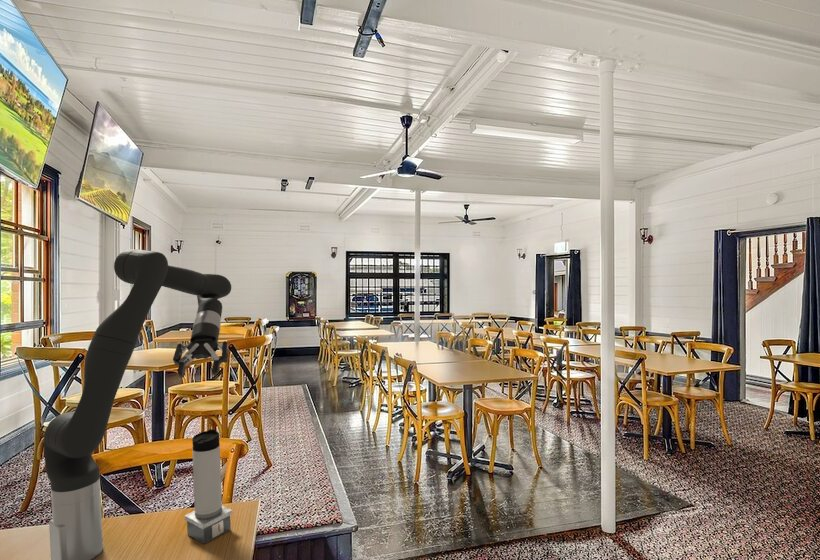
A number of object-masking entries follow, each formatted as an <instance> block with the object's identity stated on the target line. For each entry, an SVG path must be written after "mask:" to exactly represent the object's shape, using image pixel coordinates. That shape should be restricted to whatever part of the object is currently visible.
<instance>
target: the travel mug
mask: <svg viewBox="0 0 820 560" xmlns="http://www.w3.org/2000/svg"><path fill="white" fill-rule="evenodd" d="M220 446H221V444H220V432H218V431H217V429H216V428H215V429H213V428H212V429H211V428H209V429H208V430H205V431H201V432H199V433H197V434H196V435H194V436H193V438H192V468H193V469H192V470H193V471H192V472H193V473H192V474H193V498H194V500H193V501H194V503H193V504H194V511H195V516H196V517H197V518H200V519H207V518H211V517H214V516H216V515H218V514H219V513H220V512H221V510H222V506H223V502H222V501H223V500H222V498H223V497H222V474H221V473H222V472H221V448H220Z"/></svg>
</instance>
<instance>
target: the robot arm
mask: <svg viewBox="0 0 820 560" xmlns="http://www.w3.org/2000/svg"><path fill="white" fill-rule="evenodd" d="M113 263H114V264H113V270H114V273H115V275H116V277H118V279H120V281H122V282H124V283H126V284H129V285H132V287H131V289H130V292H129V294H128V295H127V296H126V298H125V299H124V301H123V302H122V303H121V304H120V305H119V306H118V307H117V308H116V309H115V310H114V311H112V313H110V314H109V315H108V316H107V317H106V318H104V320H103V321H102V322H101V323H100V324H99V325H98V326H97V328H96V329H95V331H94V334H93V336H92V338H91V340H90V344H89V345H88V348H87V351H86V354H85V357H84V369H83V370H84V374H83V375H84V376H83V377H84V381H83V389H82V393H81V396H80V398H79V402H78V403H77V405H76V408H75V410H74V411H68V412H64V413H61V414H59V415H57V416H55V417H54V418H53V419H52V420H51V421H50V422H49V423H48V424H47V426H46V428H45V430H44V433H43V453H44V454H43V456H44V463H45V465H44V466H45V471H46V475H47V478H48V480H49V482H50V497H51V517H52V518H51V519H50V520H49V521H48V525H49V526H48V527H49V528H48V529H49V547H50V548H49V549H50V560H93V559H94V558H95V557H97V556H99V555H100V554H101V553H102V551H103V549H104V543H103V542H104V539H103V519H102V497H101V496H102V495H101V475H100V467H99V465H98V463H97V461H96V460H95V459H94V458H93V457H94V456H93V455H92V453H93V452H95V450H97V449H98V447H99V446H100V445H101V443H102V441H103V439H104V436H105V434H106V431H107V428H108V423H109V419H110V415H111V413H112V412H111V411H112V408H113V405H114V401H115V399H116V396H117V393H118V390H119V388H120V385H121V382H122V380H123V378H124V377H123V376H124V374H125V372H126V369H127V367H128V364H129V362H130V360H131V358H132V355H133V353H134V350H135V348H136V345H137V342H138V340H139V336H140V333H141V331H142V328H143V325H144V323H145V322H146V319H147V316H148V314H149V312H150V310H151V307H152V305H153V304H154V301H155V300H156V298H157V297H158V294H159V293H160V291H161V288H162V287H165V288H168V289H171V290H174V291H179V292H181V293H186V294H189V295H192V296H196V300H197V312H196V316H195V319H194V321H193V326H192V331H191V335H190V341H189V343H188V344H186V345H184V344H182V343H178V344H177V345H176V347H175V350H174V354H173V358H172V361H173V363H174V365H175V366H178V368H177V374H178V376H179V377H180V378H185V373H186V369H187V367H186V366H187V365H188V364H189V363H192V362H193V361H194V360H195V359H196V360H200V359H203V360H204V359H205V360H206V359H207V360H208V359H209V358H210V359H211V360H212V361H213V363H212V370H211V374H212V376H213V377H216V376H217V374H219V372H220V368H221V367H220V366H221V364H222V363H225V364H226V363H227V362H228V361H229V360H228V358H229V345H228V342H227V341H226V340H225V341H223V342H222V343H219V337H220V331H221V324H222V322H221V320H222V313H223V304H222V302H221V301H220V300H219V299H222V298H225V297H226V296H228V295H230V294H231V291H232V284H231V281H230V280H229V279H228V278H227V277H226V276H224V275H222V274H217V273H216V274H215V273H214V274H213V273H202V272H198V271H195V270H192V269H188V268H183V267H180V266H174V265H169V262H168V259H167V257H166V255H165V254H164V253H161V252H159V251H154V250H145V249H136V248H134V249H133V248H132V249H127V250H123V251H122V252H120V253H119V254H118V255H117V257H115V260H114V262H113ZM219 349H220V351H221V356H218V355H217V353H216V351H218V350H219ZM186 351H187V352H186ZM183 354H184V355H183Z"/></svg>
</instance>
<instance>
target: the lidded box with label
mask: <svg viewBox="0 0 820 560" xmlns="http://www.w3.org/2000/svg"><path fill="white" fill-rule="evenodd" d="M231 515H233V509H231V508H228V507H227V506H225V505H222V510H221V512H220V513H219V514H218V515H216V516H214V517H211V518H207V519H200V518H197V517H196V516H195V510H193V511H191V512H188V513H187V514H185V515H183V516H184V517H183V518H184V520H185V521H186V524H187V525H186V527H187V531H186V532H187V536H188V537H190V536H191V538H192V539H194V540H196V541H197V540H198V541H197V542H199V543H201V544H203V545H206V544H207V543H210V542H211V541H212V540H215V539H216V538H218V537H220V536H222V535H224V534H225V533H227V532H229V531H231V530H232V529H231ZM223 533H224V534H223Z"/></svg>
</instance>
